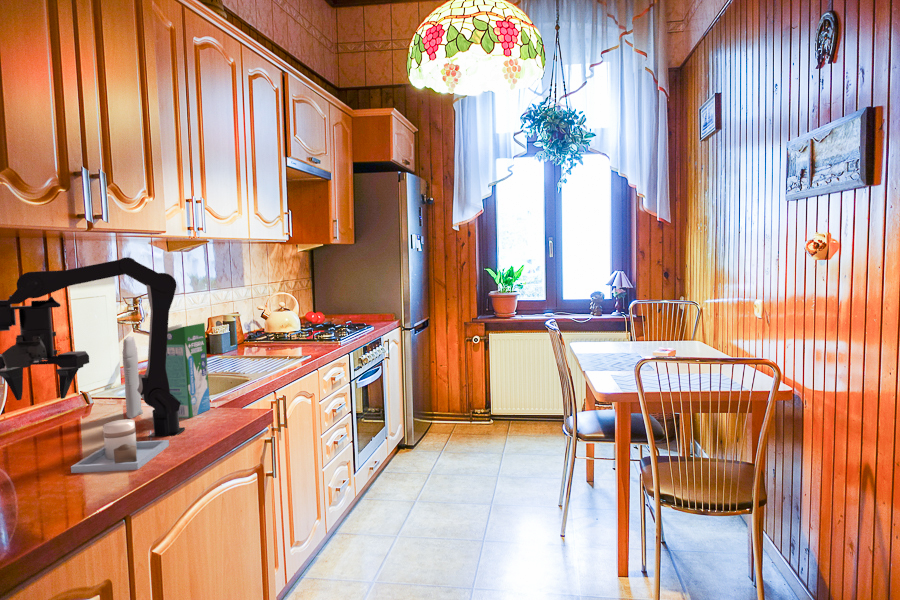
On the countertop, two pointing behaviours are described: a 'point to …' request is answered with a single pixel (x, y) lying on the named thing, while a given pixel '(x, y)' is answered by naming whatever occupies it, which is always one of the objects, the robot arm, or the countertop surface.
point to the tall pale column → (131, 378)
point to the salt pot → (125, 454)
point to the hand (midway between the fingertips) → (41, 399)
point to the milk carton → (188, 368)
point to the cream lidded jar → (118, 435)
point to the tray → (100, 463)
